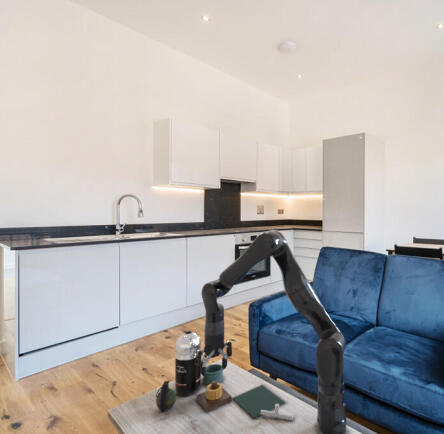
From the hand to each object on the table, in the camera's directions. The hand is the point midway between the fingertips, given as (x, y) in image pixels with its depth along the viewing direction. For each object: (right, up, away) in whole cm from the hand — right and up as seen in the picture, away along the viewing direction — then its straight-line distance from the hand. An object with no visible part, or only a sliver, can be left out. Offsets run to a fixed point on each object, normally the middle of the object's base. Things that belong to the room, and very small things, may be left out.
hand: (214, 371), depth 121 cm
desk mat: (+18, -12, 0) cm, 21 cm away
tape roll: (0, -10, 0) cm, 10 cm away
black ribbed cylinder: (-13, -12, +7) cm, 19 cm away
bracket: (-5, -12, +15) cm, 19 cm away
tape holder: (0, -12, 0) cm, 12 cm away
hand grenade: (-17, -12, -6) cm, 21 cm away
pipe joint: (+26, -12, -9) cm, 30 cm away
